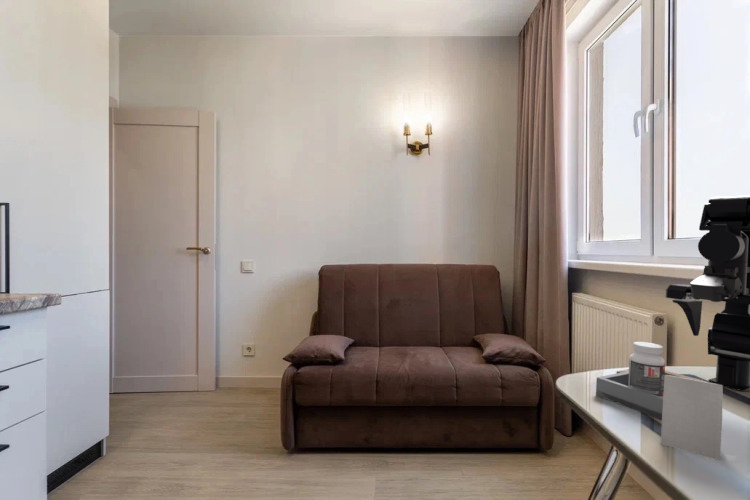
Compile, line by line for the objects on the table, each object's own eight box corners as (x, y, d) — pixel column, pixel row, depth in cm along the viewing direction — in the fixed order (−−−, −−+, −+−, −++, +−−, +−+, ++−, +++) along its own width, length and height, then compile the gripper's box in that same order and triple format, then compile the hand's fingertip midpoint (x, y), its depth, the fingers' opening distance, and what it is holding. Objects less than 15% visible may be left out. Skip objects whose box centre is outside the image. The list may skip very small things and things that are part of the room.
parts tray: (631, 387, 85) (632, 370, 85) (698, 408, 75) (699, 390, 75) (595, 394, 80) (596, 377, 80) (662, 419, 69) (663, 399, 69)
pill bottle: (669, 403, 74) (672, 349, 74) (635, 400, 75) (638, 346, 75) (654, 392, 80) (657, 342, 79) (622, 389, 81) (625, 339, 80)
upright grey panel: (719, 460, 56) (723, 388, 56) (660, 444, 60) (664, 377, 60) (717, 449, 59) (721, 382, 59) (661, 435, 63) (665, 371, 63)
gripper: (652, 258, 83) (648, 333, 84) (772, 265, 66) (766, 359, 67) (682, 258, 88) (678, 329, 89) (800, 264, 71) (795, 352, 72)
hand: (723, 341), depth 79 cm, fingers open, 9 cm apart
